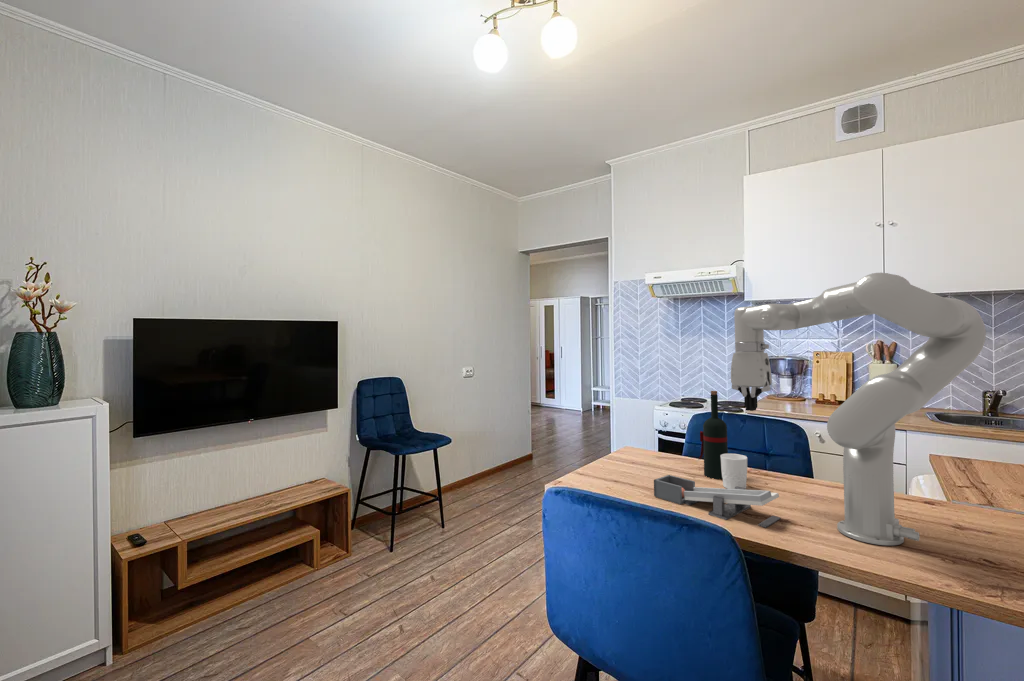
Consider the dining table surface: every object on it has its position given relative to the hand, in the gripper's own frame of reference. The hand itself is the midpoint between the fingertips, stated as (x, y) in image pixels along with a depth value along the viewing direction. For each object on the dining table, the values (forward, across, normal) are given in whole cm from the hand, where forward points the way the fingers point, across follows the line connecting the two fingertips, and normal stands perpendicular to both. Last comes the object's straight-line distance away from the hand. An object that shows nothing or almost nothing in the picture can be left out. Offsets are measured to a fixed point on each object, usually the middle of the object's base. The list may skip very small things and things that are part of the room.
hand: (751, 410), depth 132 cm
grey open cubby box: (+27, +17, +14) cm, 35 cm away
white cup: (+27, +10, -9) cm, 30 cm away
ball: (+25, +15, +14) cm, 32 cm away
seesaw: (+23, +1, +12) cm, 26 cm away
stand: (+27, +1, +12) cm, 30 cm away
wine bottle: (+27, +21, -16) cm, 38 cm away
